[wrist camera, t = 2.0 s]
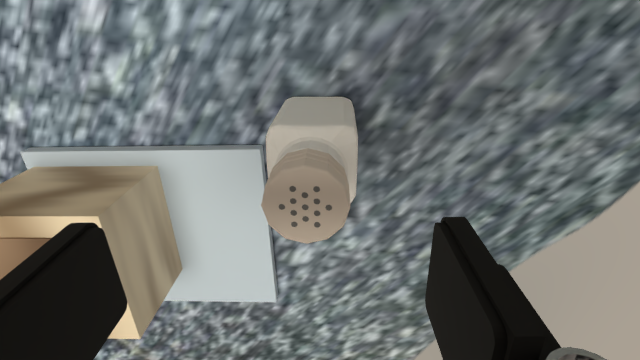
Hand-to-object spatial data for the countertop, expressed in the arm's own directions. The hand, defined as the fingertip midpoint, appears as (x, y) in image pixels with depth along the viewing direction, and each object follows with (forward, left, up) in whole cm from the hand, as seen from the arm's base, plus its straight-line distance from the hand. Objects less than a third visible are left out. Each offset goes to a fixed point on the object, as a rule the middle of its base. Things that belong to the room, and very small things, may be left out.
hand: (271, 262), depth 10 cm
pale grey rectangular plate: (+10, +7, -12) cm, 18 cm away
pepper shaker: (-1, 0, -13) cm, 13 cm away
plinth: (+13, +6, -12) cm, 19 cm away
